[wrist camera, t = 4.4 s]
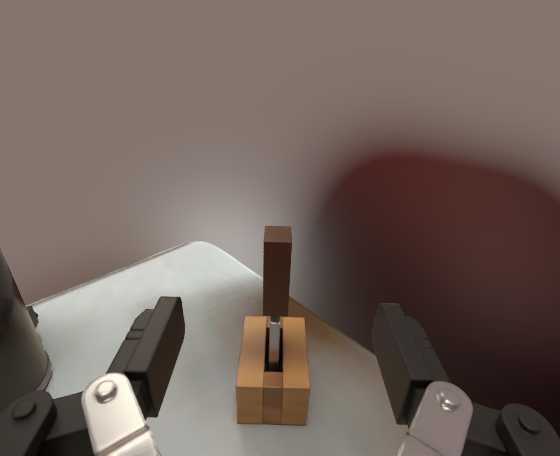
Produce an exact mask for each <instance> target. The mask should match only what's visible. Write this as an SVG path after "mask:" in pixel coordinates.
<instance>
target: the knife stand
mask: <svg viewBox="0 0 560 456" xmlns="http://www.w3.org/2000/svg"><path fill="white" fill-rule="evenodd" d="M269 343H270V317H257V316H245V322H244V330H243V337H242V345H241V352H240V359H239V367H238V374H237V382H236V400H237V422H238V423H248V424H262V423H263V424H287V425H306V418H307V410H308V402H309V393H310V381H309V369H308V357H307V345H306V333H305V320H304V318H292V317H283V318H282V317H280V338H279V360H278V362H279V363H280V362H281V372H265V367H266V362H269Z"/></svg>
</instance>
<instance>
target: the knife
mask: <svg viewBox="0 0 560 456" xmlns="http://www.w3.org/2000/svg"><path fill="white" fill-rule="evenodd" d="M291 251H292V233H291V227H287V226H265V234H264V268H263V270H264V271H263V316H270V343H269V372H278V360H279V338H280V316H288V301H289V285H290V267H291Z"/></svg>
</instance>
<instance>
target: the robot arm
mask: <svg viewBox="0 0 560 456" xmlns="http://www.w3.org/2000/svg"><path fill="white" fill-rule="evenodd" d="M37 317H38V314H37V313H35V312H34V310H33V308H32V306H27V307H26V306H25V304H24V301H23V299H22V297H21V295H20V292H19V290H18V288H17V285H16V283H15V281H14V279H13V276H12V274H11V272H10V270H9V267H8V265H7V263H6V260H5V258H4V256H3V253H2V251H1V249H0V456H161V454H160V452H159V449H158V447H157V445H156V442H155V440H154V437H153V435H152V432H151V430H150V428H149V426H147V424H146V422H145V421H146V418H147V417H157V416H158V413H159V411H160V408H161V405H162V402H163V399H164V396H165V393H166V390H167V387H168V384H169V381H170V378H171V375H172V372H173V369H174V366H175V363H176V360H177V358H178V355H179V352H180V349H181V346H182V343H183V340H184V334H185V322H184V315H183V308H182V301H181V298H180V297H163V296H162V297H160V298H159V300H158V302H157V304H156V306H155V308H154V309H146V310H145V311H144V312H142V313H141V314H140V315H139V316H138V317H137V318H136V319H135V321H134V323H133V325H132V326H131V328H130V331H129V332H128V334H127V336H126V337H125V340H124V341H123V343H122V345H121V347H120V348H119V350H118V352H117V354H116V356H115V358H114V360H113V361H112V363H111V365H110V367H109V369H108V371H107V372H106V374H105V375H102V376H100V377H98V378H97V379H95V380H94V381H92V382H91V383H90V384H89V385H88V386H87V387H86V389H85V390H84V391H82V392H79V393H76V394H72V395H68V396H64V397H60V398H57V399H52V396H51V395H50V394H49V393H48V392H46V391H43V390H44V389H45V387H46V385H47V384H48V382H49V379H50V376H51V372H52V365H51V361H50V359H49V357H48V354H47V353H46V352H45V351H44V348H43V345H42V343H41V341H40V338H39V336H38V334H37V331H36V326H37V324H38V320H37ZM372 343H373V348H374V351H375V354H376V357H377V361H378V364H379V367H380V371H381V374H382V377H383V380H384V384H385V387H386V390H387V393H388V397H389V400H390V403H391V407H392V410H393V413H394V416H395V420H396V423H397V424H400V425H408V428H409V430H408V432H407V433H406V435H405V437H404V440H403V442H402V444H401V447H400V449H399V451H398V454H397V456H560V439H559V437H558V435H557V434H556V432H555V431H554V429H553V427H552V426H551V425H550V423H549V422H548V421H547V420H546V419H545V418H544V417H543V416H541V415H540V414H539V413H538V412H536V411H535V410H533V409H531V408H529V407H527V406H524V405H521V404H516V403H514V404H513V403H512V404H508V405H506V406H505V407H504V408H503V410H502V411H498V410H495V409H492V408H488V407H485V406H482V405H479V404H476V403H474V402H472V401H470V399H469V398H468V396H467V395H466V394H465V393H464V392H463V391H462V390H461V389H459V388H458V387H457V386H455V385H453V384H451V383H450V381H449V379H448V377H447V375H446V373H445V371H444V369H443V367H442V365H441V363H440V361H439V359H438V357H437V355H436V353H435V351H434V349H432V345H431V343H430V341H429V340H428V337H427V335H426V333H425V331H424V329H423V327H422V326H421V325H420V324H419V323H418V322H417V321H416V320H415V319H414V318H413V317H405V315H404V313H403V311H402V309H401V307H400V305H399V304H393V303H392V304H391V303H379V305H378V308H377V312H376V316H375V321H374V325H373V330H372Z"/></svg>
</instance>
